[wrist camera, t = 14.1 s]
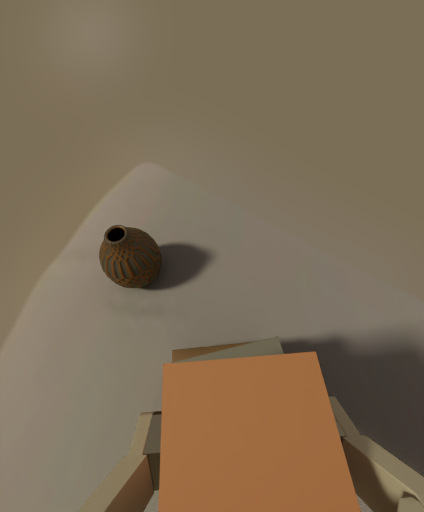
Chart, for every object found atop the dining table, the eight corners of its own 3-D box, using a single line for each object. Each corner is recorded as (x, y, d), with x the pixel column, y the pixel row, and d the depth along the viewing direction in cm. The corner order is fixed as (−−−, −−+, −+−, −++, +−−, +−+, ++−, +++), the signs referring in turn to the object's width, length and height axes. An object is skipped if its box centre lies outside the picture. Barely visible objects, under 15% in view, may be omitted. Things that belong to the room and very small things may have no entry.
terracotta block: (286, 473, 12) (385, 598, 5) (191, 481, 12) (155, 622, 5) (267, 367, 14) (315, 351, 7) (189, 374, 14) (163, 364, 7)
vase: (158, 243, 33) (141, 201, 25) (172, 284, 30) (156, 249, 22) (111, 259, 32) (78, 219, 24) (120, 303, 28) (84, 273, 21)
